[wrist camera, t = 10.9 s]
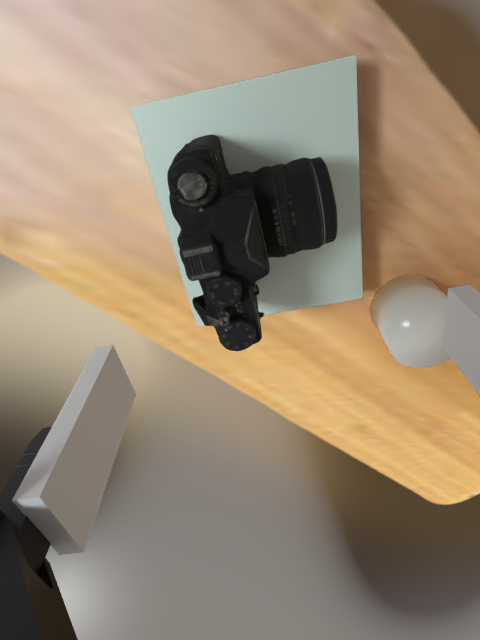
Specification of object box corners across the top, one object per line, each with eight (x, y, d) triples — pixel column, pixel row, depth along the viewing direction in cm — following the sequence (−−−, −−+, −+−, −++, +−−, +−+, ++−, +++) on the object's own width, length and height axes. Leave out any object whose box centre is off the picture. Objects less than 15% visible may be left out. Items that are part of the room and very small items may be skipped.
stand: (139, 105, 29) (129, 107, 27) (345, 57, 28) (356, 54, 25) (199, 310, 39) (196, 326, 37) (354, 284, 38) (362, 298, 35)
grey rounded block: (369, 281, 38) (389, 311, 32) (441, 268, 37) (474, 297, 32) (370, 337, 41) (389, 373, 36) (436, 327, 40) (464, 361, 35)
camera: (328, 280, 34) (358, 344, 26) (215, 301, 35) (207, 370, 27) (312, 108, 27) (346, 118, 18) (170, 142, 28) (139, 166, 20)
